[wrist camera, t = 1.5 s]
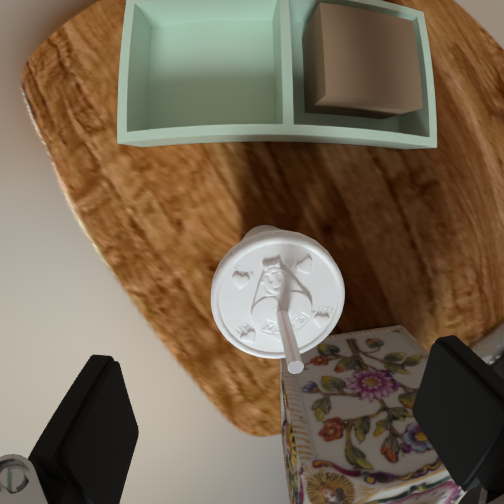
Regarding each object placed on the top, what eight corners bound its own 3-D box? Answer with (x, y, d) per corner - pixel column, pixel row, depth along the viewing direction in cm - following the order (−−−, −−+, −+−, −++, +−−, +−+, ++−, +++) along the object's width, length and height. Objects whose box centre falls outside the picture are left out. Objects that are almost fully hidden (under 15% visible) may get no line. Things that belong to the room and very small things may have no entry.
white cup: (233, 297, 25) (226, 432, 11) (212, 217, 23) (171, 289, 10) (314, 278, 25) (382, 395, 11) (298, 197, 23) (374, 242, 9)
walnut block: (377, 48, 19) (412, 20, 13) (382, 119, 21) (422, 108, 15) (301, 38, 19) (319, 2, 13) (304, 112, 21) (325, 95, 15)
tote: (394, 33, 19) (423, 12, 15) (402, 149, 22) (437, 147, 17) (147, 25, 19) (127, -2, 14) (142, 147, 22) (117, 143, 17)
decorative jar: (404, 320, 26) (524, 460, 9) (385, 412, 29) (449, 543, 12) (273, 336, 26) (308, 541, 8) (276, 430, 29) (296, 587, 12)
